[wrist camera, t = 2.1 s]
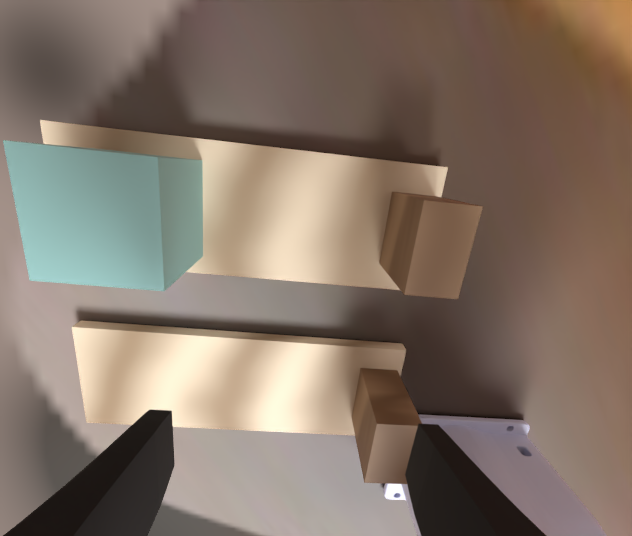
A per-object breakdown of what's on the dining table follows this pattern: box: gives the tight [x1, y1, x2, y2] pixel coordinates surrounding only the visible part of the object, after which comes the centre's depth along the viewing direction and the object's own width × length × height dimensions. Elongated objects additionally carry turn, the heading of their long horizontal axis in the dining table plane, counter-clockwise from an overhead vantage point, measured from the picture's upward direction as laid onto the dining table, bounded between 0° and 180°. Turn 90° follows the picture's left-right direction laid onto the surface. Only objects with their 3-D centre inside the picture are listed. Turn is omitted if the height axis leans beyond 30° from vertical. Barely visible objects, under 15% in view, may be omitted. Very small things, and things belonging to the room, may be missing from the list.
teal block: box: [3, 140, 203, 291], centre depth 14 cm, size 5×5×5 cm
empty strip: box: [72, 320, 422, 484], centre depth 18 cm, size 20×7×5 cm, turn 84°
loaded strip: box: [40, 120, 483, 299], centre depth 15 cm, size 20×7×5 cm, turn 84°
